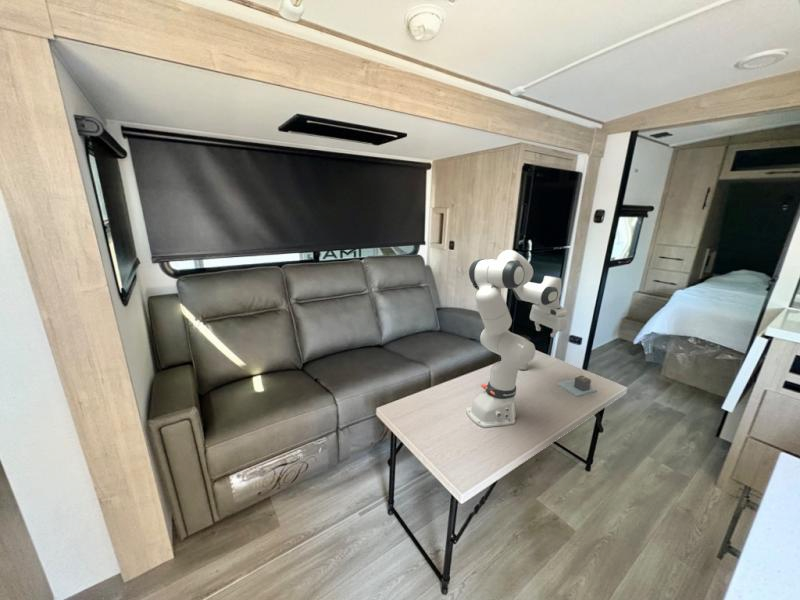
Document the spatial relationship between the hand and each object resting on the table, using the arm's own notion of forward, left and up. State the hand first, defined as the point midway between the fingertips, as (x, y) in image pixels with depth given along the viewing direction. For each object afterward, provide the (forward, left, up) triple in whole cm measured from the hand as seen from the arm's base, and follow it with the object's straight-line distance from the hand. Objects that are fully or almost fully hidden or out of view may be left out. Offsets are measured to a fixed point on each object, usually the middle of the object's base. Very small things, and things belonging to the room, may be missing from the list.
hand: (545, 333), depth 159 cm
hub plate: (+16, -10, -29) cm, 35 cm away
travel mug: (+5, +18, -29) cm, 35 cm away
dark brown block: (+17, -12, -28) cm, 35 cm away
